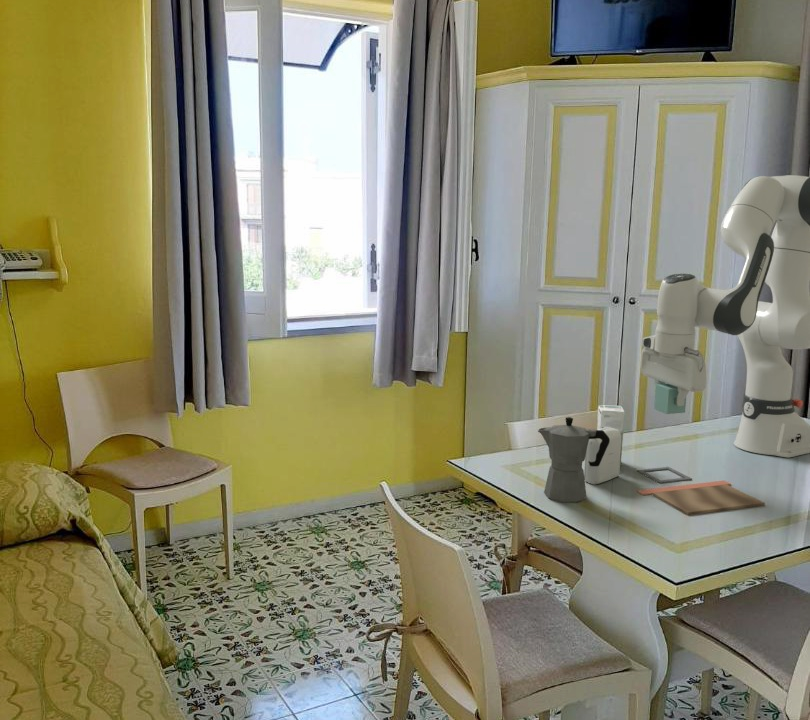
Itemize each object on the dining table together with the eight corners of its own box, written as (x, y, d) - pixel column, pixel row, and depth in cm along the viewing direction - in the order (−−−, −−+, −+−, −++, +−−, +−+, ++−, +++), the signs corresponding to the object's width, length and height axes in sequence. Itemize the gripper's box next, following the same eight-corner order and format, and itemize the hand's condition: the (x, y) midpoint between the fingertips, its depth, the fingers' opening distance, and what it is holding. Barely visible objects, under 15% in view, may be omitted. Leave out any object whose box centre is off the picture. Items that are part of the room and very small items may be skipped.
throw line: (724, 481, 188) (724, 480, 188) (731, 485, 186) (731, 483, 186) (636, 491, 181) (636, 490, 181) (642, 495, 179) (642, 494, 178)
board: (726, 487, 185) (726, 484, 185) (764, 505, 173) (764, 502, 173) (652, 495, 178) (652, 493, 178) (687, 515, 167) (687, 512, 167)
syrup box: (617, 460, 203) (621, 404, 201) (621, 467, 198) (625, 410, 195) (594, 459, 204) (597, 403, 201) (597, 466, 198) (601, 409, 195)
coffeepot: (533, 499, 175) (536, 420, 171) (537, 485, 184) (540, 409, 180) (605, 507, 171) (610, 426, 168) (606, 492, 180) (611, 415, 177)
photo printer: (596, 486, 184) (599, 434, 182) (581, 481, 187) (583, 430, 185) (621, 476, 191) (625, 426, 188) (606, 472, 194) (609, 423, 192)
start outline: (668, 467, 198) (668, 466, 198) (691, 479, 189) (692, 478, 189) (637, 471, 195) (637, 470, 195) (659, 483, 186) (659, 482, 186)
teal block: (671, 407, 192) (673, 383, 191) (685, 412, 188) (687, 387, 186) (654, 408, 191) (655, 384, 189) (667, 414, 186) (668, 389, 185)
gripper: (715, 351, 177) (710, 411, 180) (659, 336, 196) (655, 391, 199) (692, 352, 175) (687, 413, 178) (637, 338, 194) (634, 393, 197)
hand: (670, 402), depth 189 cm, fingers closed on teal block, 5 cm apart
